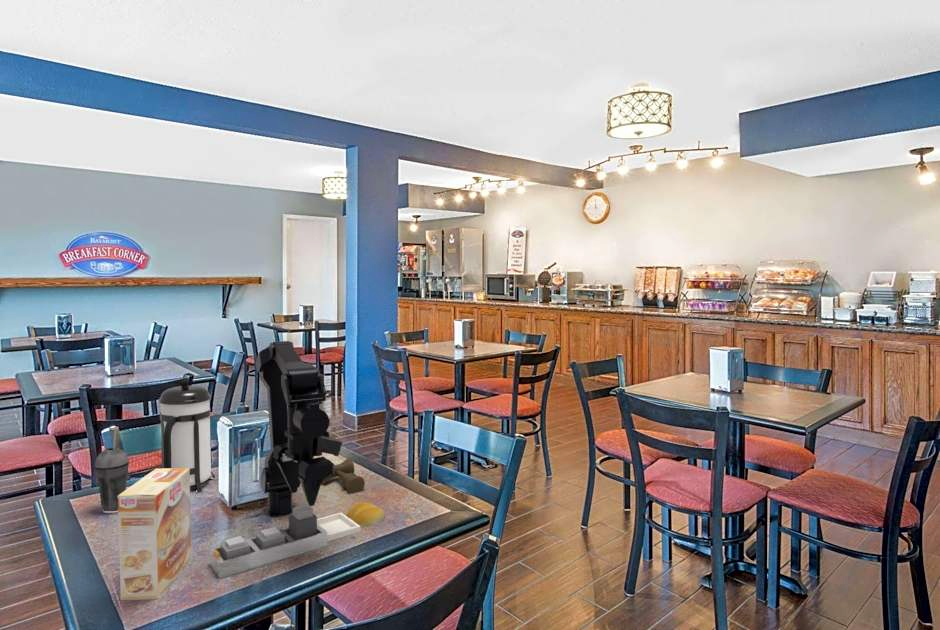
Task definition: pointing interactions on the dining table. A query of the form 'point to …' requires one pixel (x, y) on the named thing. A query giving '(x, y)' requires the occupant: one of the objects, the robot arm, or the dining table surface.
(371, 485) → the dining table surface
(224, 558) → the twin plug
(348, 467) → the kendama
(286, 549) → the power strip
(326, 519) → the tray
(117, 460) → the beverage cup
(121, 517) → the coffeecake box
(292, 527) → the plug
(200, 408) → the coffee press
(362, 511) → the bread roll
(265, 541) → the twin plug
